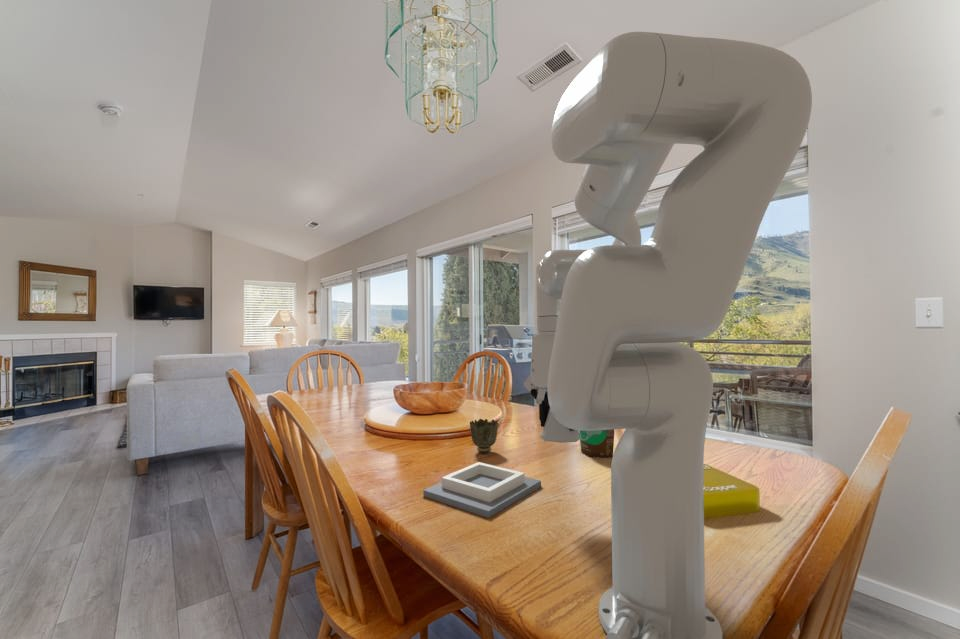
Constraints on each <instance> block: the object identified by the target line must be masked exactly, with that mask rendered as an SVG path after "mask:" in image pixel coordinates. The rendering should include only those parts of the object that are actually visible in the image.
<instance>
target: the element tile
mask: <svg viewBox="0 0 960 639" xmlns="http://www.w3.org/2000/svg"><path fill="white" fill-rule="evenodd" d="M703 471H704V473H703V477H704V492H703V493H704V520H706V519H707V520H708V519H715V518H722V517H723V518H724V517H730V516H737V515H745V514H754V513H758V512H760V509H761V508H760V507H761V505H760V487H758V486H757V485H754V484H752V483H750V482H747V481H745V480H743V479H740V478H738V477H737V476H733V475H731V474H730V473H727V472H726V471H723V470H720V469H718V468H715V467H713V466H711V465H708V464H706V463H704V470H703Z"/></svg>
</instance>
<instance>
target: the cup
mask: <svg viewBox="0 0 960 639" xmlns="http://www.w3.org/2000/svg"><path fill="white" fill-rule="evenodd" d="M469 426H470V435H471V436H470V437H471V440H472V443H473V445H475V446H476V447H477V448H476V450H477V452H478V453H479V454H484V453H485V454H489V453H490V452H491V451H492V447H493V446H494V445H495V443H496V440H497V437H498V428H499V427H498V426H499V422H498V420H495V419H491V421H489V420H488V419H487V418H485V419H482V418H479V419H478V420H476V419H474V420H471V421H470V422H469Z"/></svg>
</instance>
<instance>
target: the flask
mask: <svg viewBox="0 0 960 639" xmlns="http://www.w3.org/2000/svg"><path fill="white" fill-rule="evenodd" d="M540 439H542V440H543V441H544V442H550V443H551V442H553V443H558V444H560V443H576V442H578V441H580V439H581V437H580V434H579V430H574V431H570V429H569V428H567V427H565V426H563V425H562V424H560V423H559V422H558V421H557V420H556V418H555V417H554V415H553V413H552V411H551V409H549V412H548V416H547V419H546V422H545V426H544V427H542V431H541V434H540Z"/></svg>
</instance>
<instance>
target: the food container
mask: <svg viewBox="0 0 960 639" xmlns="http://www.w3.org/2000/svg"><path fill="white" fill-rule="evenodd" d="M615 430H616V429H611V430H594V431H580V430H578V431H579V434H580V437H581V439H580V440H579V443H580V452H581V454H583V455H584V454H585V456H587V455H588V457H592V458H597V457H599V459H610V458H613V454H614V448H615V447H614V446H615V445H614V444H615ZM609 457H610V458H609Z"/></svg>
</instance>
